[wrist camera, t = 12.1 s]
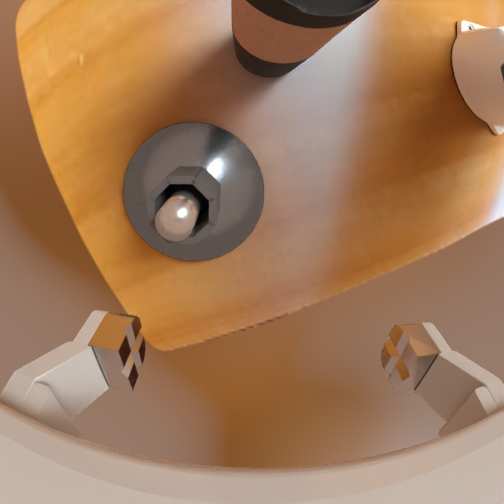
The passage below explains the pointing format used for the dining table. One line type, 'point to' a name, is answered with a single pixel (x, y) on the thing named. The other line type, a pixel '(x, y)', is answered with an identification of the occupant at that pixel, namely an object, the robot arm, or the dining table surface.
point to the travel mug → (288, 30)
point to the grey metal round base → (194, 190)
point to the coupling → (203, 183)
